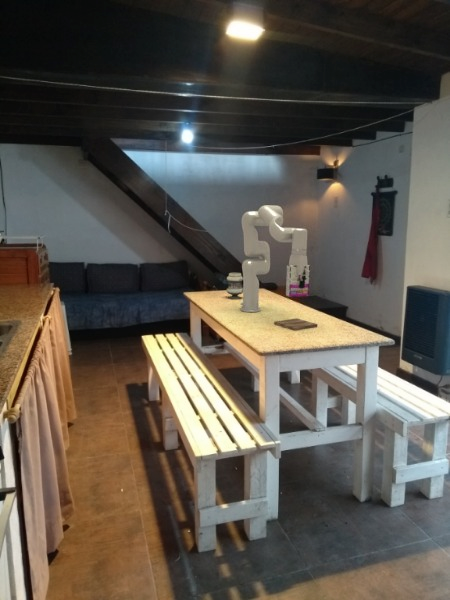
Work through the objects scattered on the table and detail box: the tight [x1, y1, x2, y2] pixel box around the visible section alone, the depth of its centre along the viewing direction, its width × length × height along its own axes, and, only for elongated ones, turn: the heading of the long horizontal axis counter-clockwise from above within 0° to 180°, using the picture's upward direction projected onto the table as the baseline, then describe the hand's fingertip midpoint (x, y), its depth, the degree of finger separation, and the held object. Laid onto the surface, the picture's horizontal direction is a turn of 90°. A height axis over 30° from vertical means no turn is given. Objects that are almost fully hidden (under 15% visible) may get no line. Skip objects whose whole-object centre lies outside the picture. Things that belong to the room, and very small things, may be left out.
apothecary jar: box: [226, 272, 243, 301], centre depth 312 cm, size 12×12×18 cm
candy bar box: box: [285, 264, 311, 298], centre depth 230 cm, size 11×5×16 cm, turn 106°
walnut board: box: [273, 317, 318, 331], centre depth 234 cm, size 16×16×2 cm
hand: (297, 286), depth 230 cm, fingers closed on candy bar box, 6 cm apart
